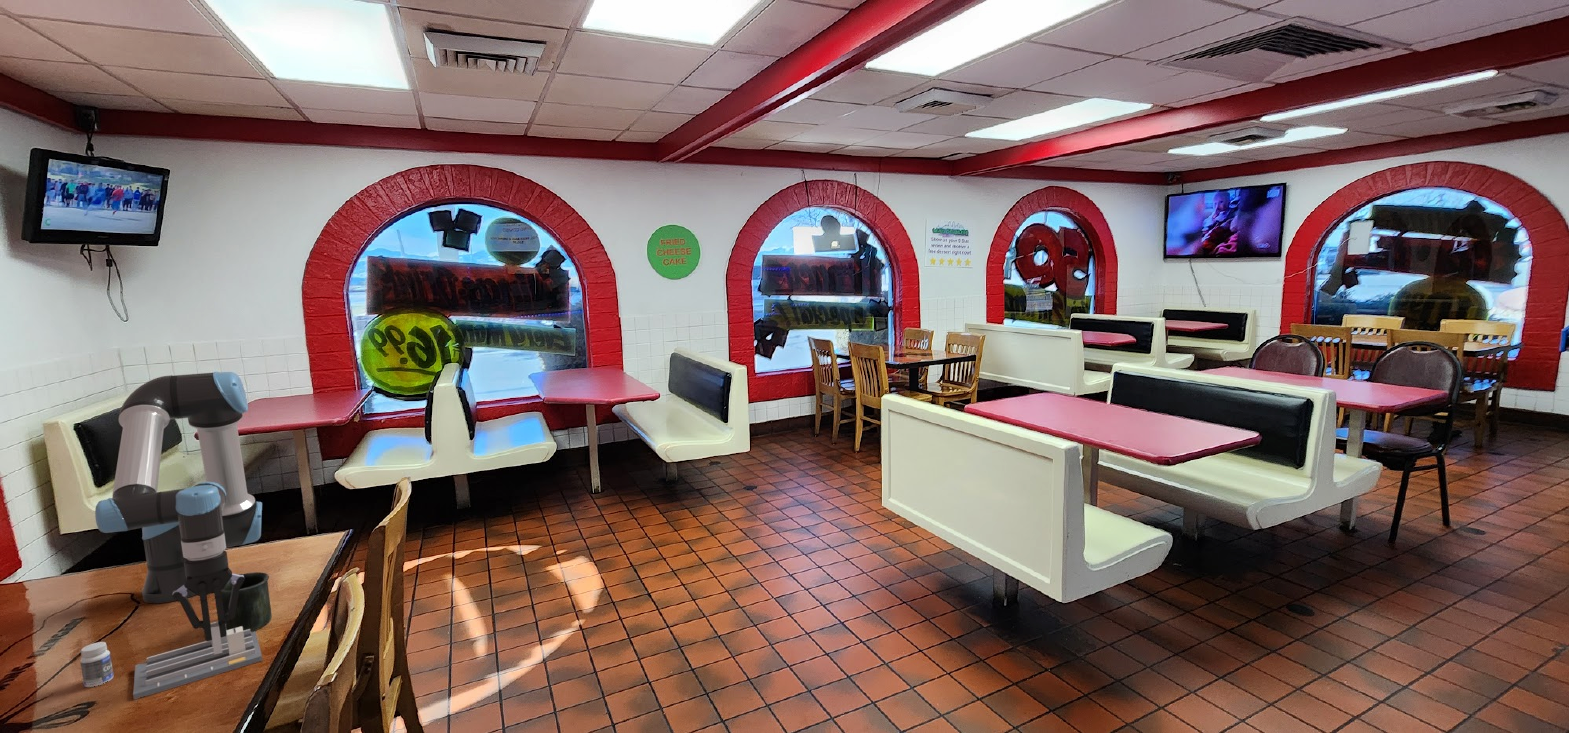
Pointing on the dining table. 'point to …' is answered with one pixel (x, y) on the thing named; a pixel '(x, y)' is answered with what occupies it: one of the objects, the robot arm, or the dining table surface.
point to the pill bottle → (96, 664)
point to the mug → (249, 602)
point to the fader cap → (236, 640)
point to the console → (191, 665)
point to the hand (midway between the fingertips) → (218, 651)
